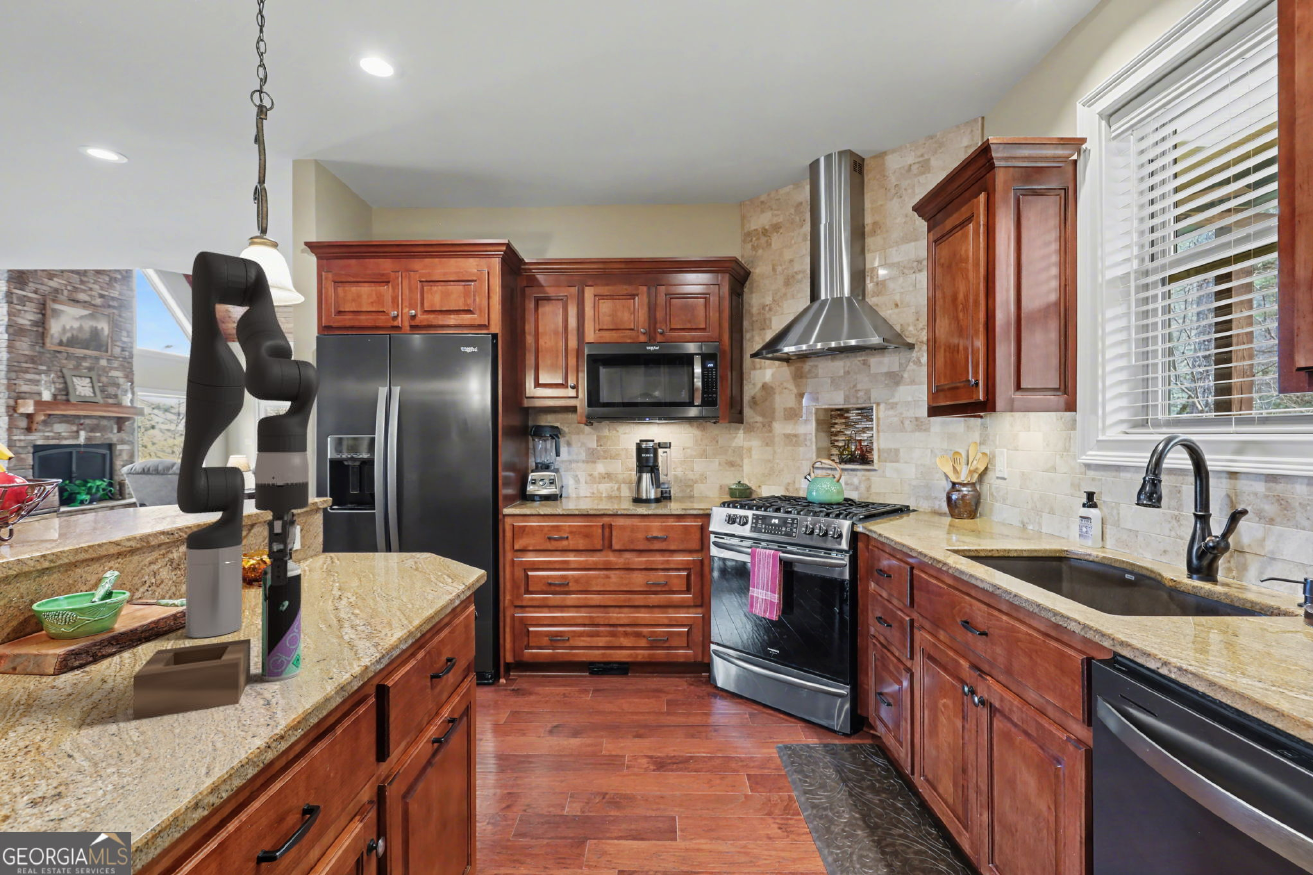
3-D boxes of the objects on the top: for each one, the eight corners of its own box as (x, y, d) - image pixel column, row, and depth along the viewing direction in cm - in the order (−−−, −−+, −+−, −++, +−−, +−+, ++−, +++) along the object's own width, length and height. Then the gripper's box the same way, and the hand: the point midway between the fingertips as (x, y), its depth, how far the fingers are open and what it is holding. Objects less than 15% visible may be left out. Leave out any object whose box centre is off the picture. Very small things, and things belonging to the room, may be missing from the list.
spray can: (282, 682, 97) (283, 555, 97) (252, 680, 98) (253, 554, 98) (308, 670, 102) (309, 550, 102) (280, 668, 103) (281, 549, 103)
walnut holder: (157, 689, 94) (157, 649, 94) (250, 675, 100) (250, 638, 100) (132, 720, 84) (133, 675, 84) (238, 703, 89) (238, 661, 89)
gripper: (260, 478, 105) (260, 573, 105) (248, 483, 92) (248, 591, 92) (311, 477, 108) (310, 569, 108) (305, 481, 96) (305, 585, 95)
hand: (281, 579), depth 100 cm, fingers open, 8 cm apart
